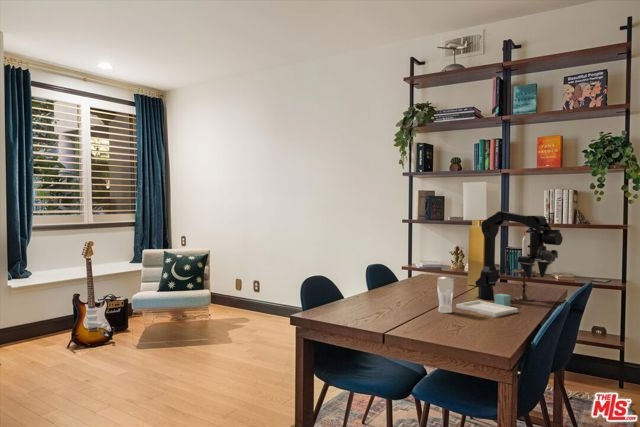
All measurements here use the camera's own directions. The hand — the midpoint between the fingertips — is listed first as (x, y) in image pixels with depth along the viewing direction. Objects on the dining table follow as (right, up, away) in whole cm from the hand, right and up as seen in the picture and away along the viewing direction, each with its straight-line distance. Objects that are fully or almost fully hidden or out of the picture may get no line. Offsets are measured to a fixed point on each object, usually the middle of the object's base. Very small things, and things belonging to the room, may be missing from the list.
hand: (535, 277), depth 203 cm
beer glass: (-43, -14, -6) cm, 45 cm away
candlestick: (+4, -14, +21) cm, 26 cm away
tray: (-23, -14, -2) cm, 27 cm away
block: (-12, -14, +8) cm, 20 cm away
